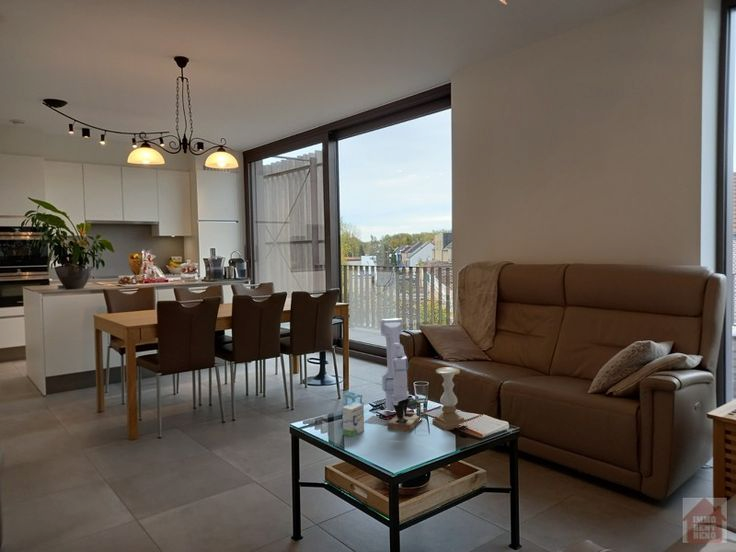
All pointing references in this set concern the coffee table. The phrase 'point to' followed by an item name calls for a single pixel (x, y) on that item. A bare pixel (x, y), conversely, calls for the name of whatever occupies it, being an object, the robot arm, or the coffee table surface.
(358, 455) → the coffee table surface
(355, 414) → the ink box
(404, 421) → the peg
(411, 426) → the block
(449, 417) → the candle holder
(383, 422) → the mat
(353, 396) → the chair
